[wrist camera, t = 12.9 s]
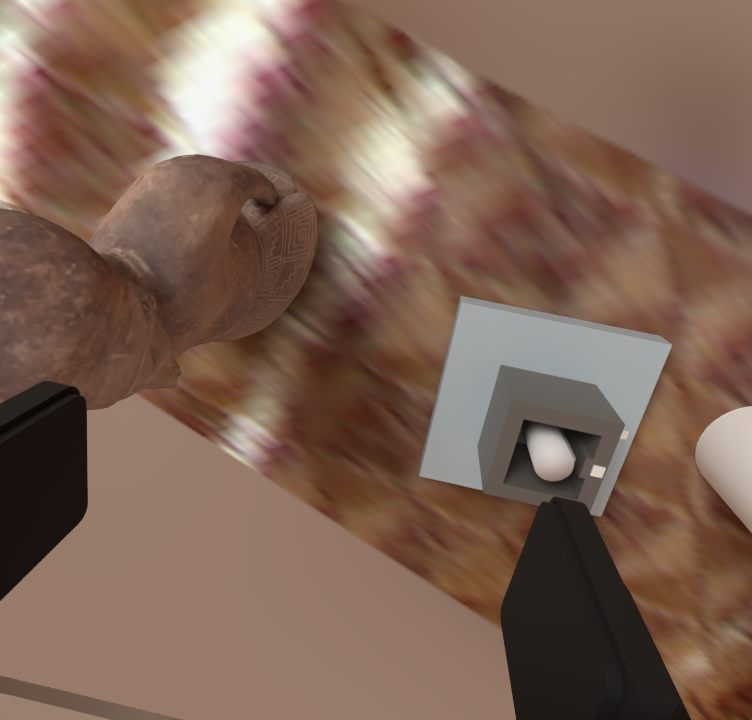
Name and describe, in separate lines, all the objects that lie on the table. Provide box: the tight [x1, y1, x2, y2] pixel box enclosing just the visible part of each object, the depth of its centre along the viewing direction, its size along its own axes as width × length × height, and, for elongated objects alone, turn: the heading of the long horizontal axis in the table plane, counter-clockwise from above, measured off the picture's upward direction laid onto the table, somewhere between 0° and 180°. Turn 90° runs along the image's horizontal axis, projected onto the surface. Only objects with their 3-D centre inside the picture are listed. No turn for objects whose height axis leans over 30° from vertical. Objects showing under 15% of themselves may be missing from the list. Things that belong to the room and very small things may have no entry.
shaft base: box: [419, 296, 672, 517], centre depth 34 cm, size 14×14×8 cm
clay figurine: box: [0, 154, 318, 410], centre depth 24 cm, size 13×10×25 cm
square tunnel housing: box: [477, 365, 625, 512], centre depth 33 cm, size 7×7×6 cm
